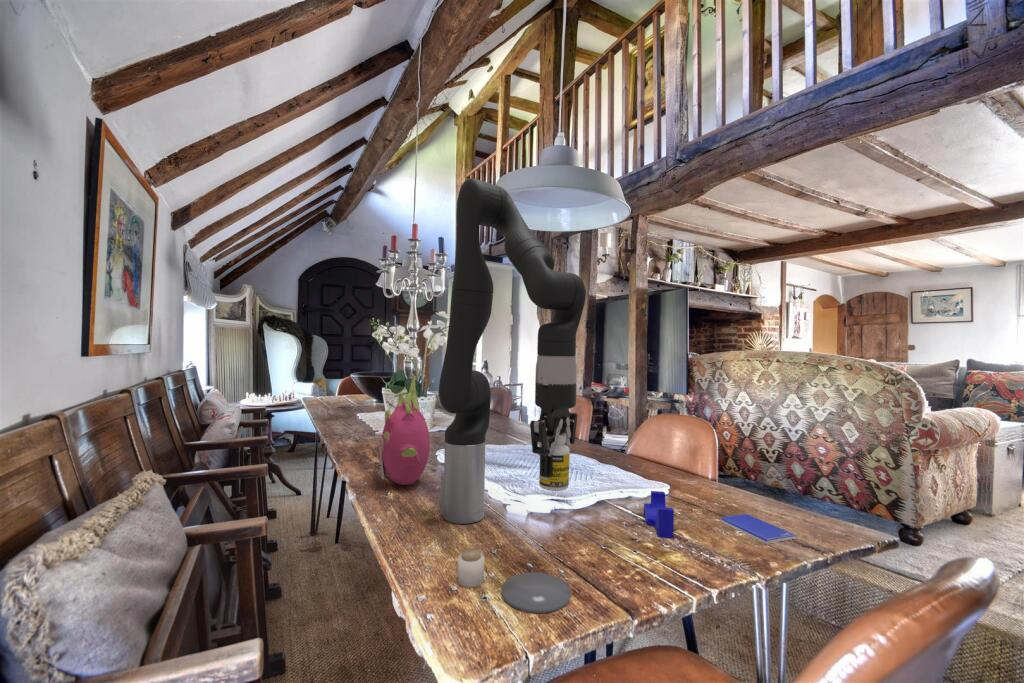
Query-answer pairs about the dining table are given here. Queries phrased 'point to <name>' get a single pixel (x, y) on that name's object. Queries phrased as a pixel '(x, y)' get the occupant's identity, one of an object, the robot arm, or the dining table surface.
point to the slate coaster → (536, 592)
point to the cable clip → (659, 515)
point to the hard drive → (758, 528)
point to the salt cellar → (470, 568)
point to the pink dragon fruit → (404, 440)
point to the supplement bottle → (558, 467)
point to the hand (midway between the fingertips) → (554, 472)
